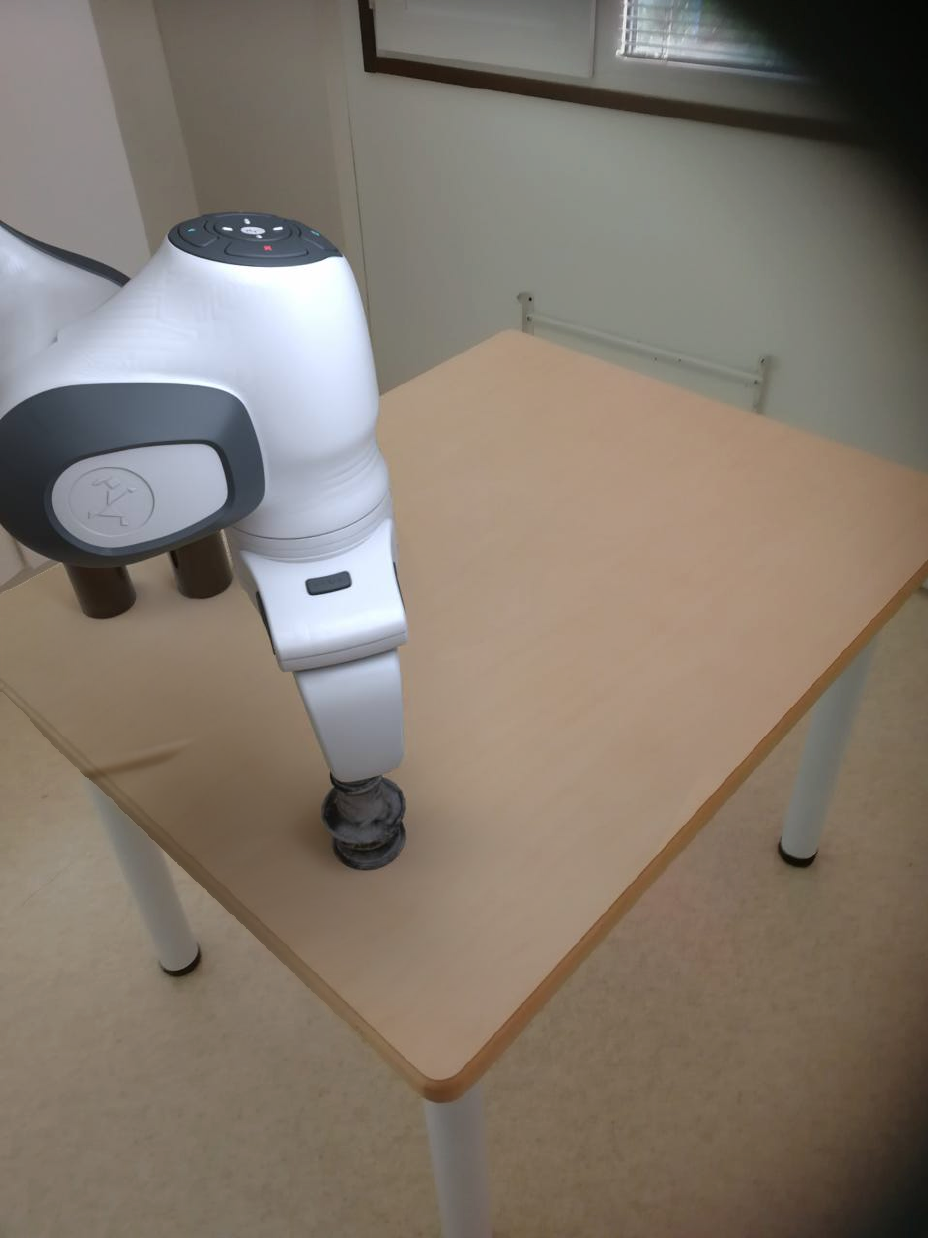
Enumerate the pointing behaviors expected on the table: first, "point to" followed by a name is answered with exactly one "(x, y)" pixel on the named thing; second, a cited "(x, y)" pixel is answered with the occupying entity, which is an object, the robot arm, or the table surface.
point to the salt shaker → (365, 821)
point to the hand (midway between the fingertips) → (348, 712)
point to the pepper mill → (102, 590)
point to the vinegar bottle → (201, 567)
